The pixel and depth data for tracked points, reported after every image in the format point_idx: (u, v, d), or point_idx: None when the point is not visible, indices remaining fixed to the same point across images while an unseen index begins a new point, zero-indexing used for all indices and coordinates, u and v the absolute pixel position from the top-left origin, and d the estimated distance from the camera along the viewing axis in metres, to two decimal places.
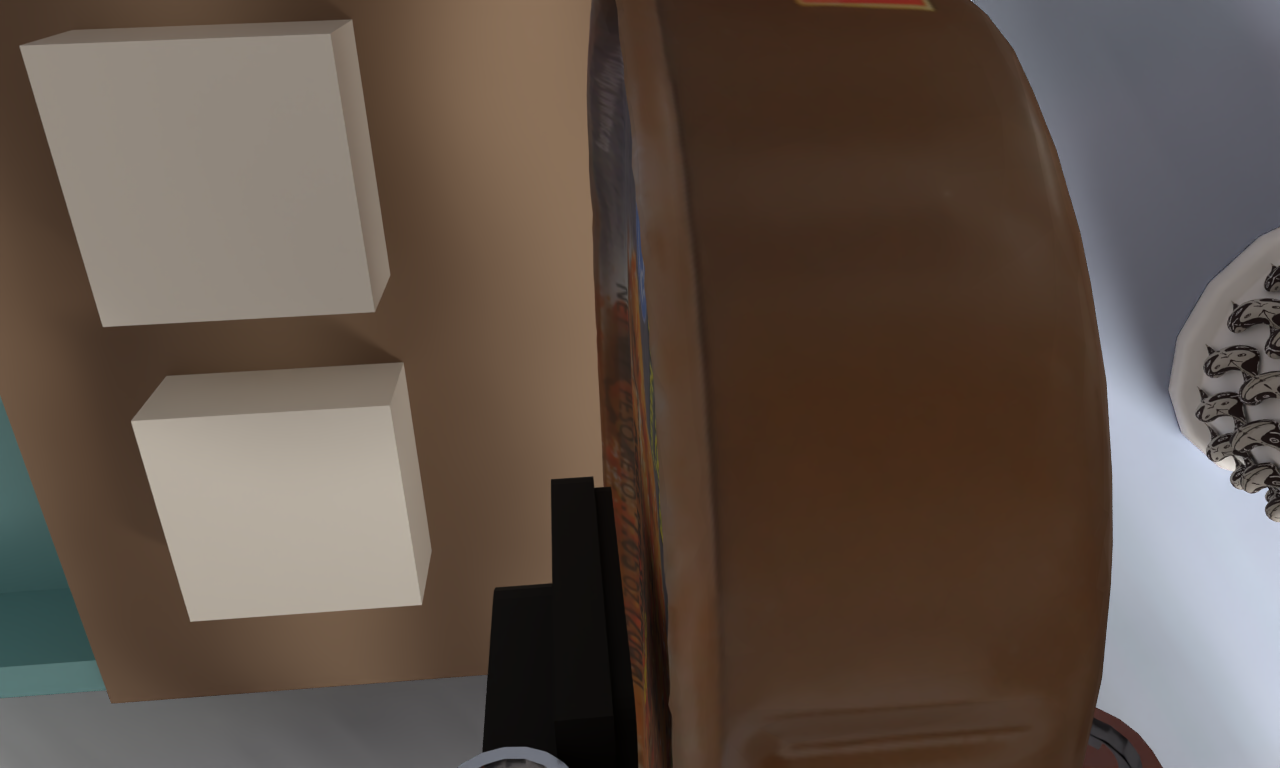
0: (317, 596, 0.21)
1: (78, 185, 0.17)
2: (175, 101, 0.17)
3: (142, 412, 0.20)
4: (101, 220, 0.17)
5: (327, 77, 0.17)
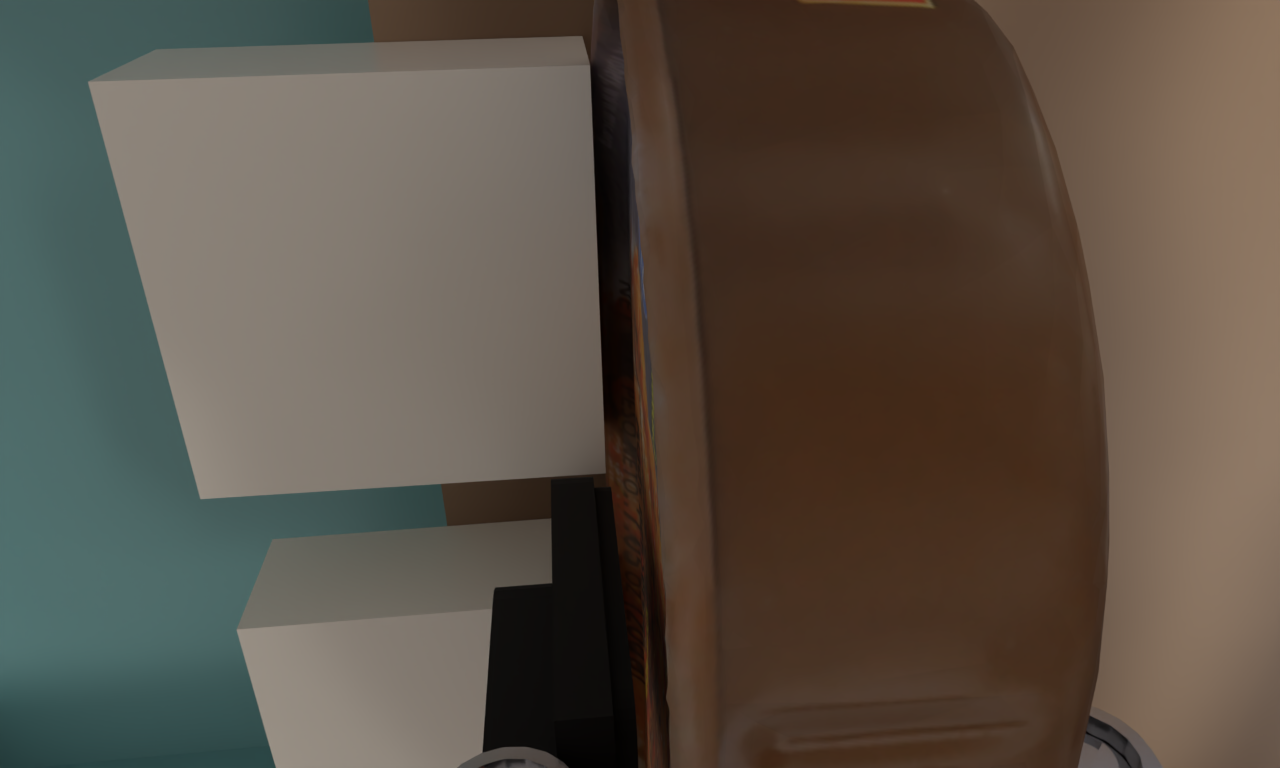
0: None
1: (172, 296, 0.11)
2: (334, 170, 0.10)
3: (251, 611, 0.13)
4: (206, 348, 0.11)
5: (577, 133, 0.10)
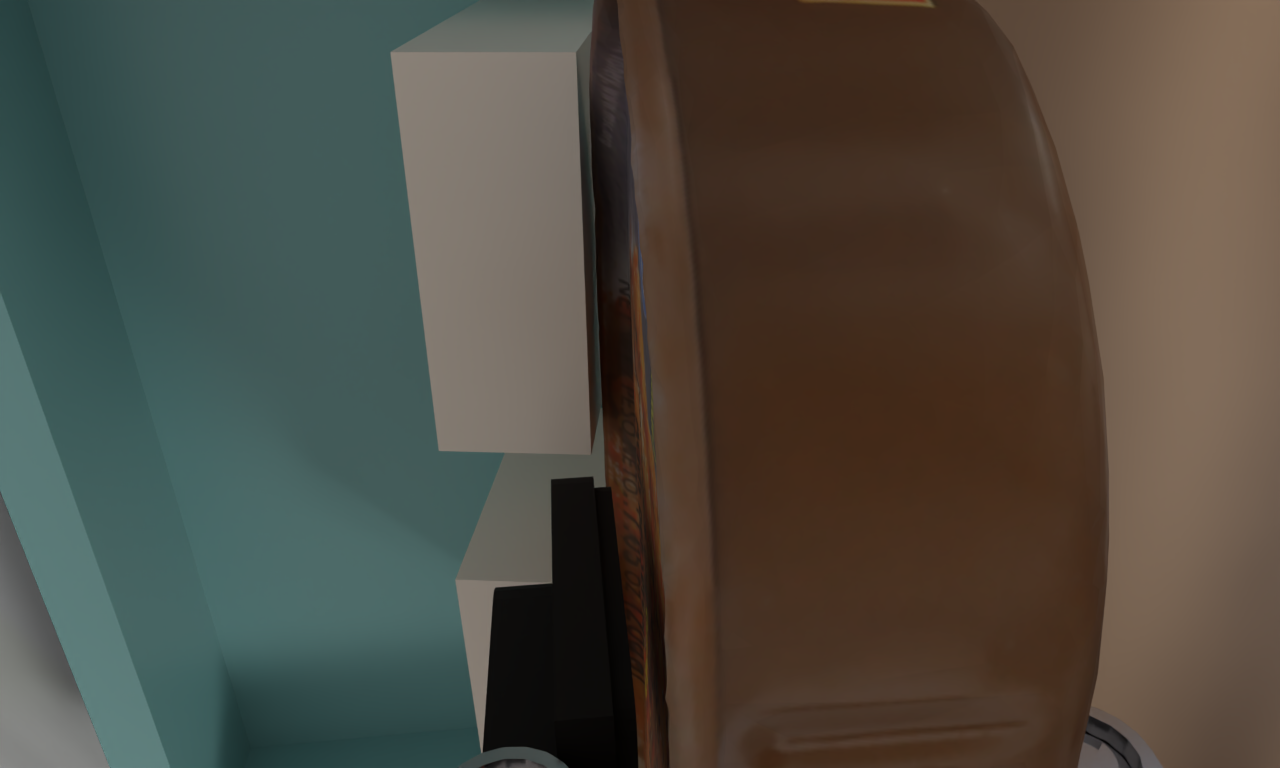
0: None
1: None
2: None
3: None
4: None
5: None
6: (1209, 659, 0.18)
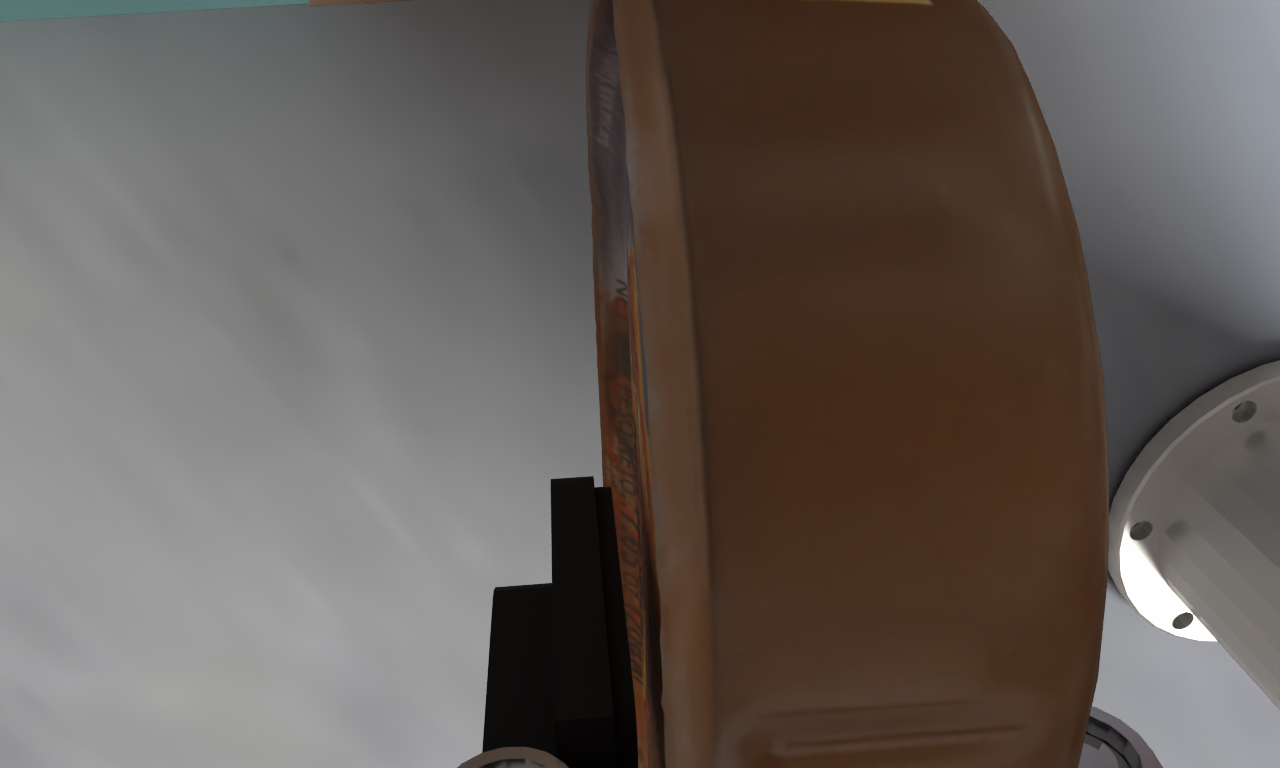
0: None
1: None
2: None
3: None
4: None
5: None
6: None
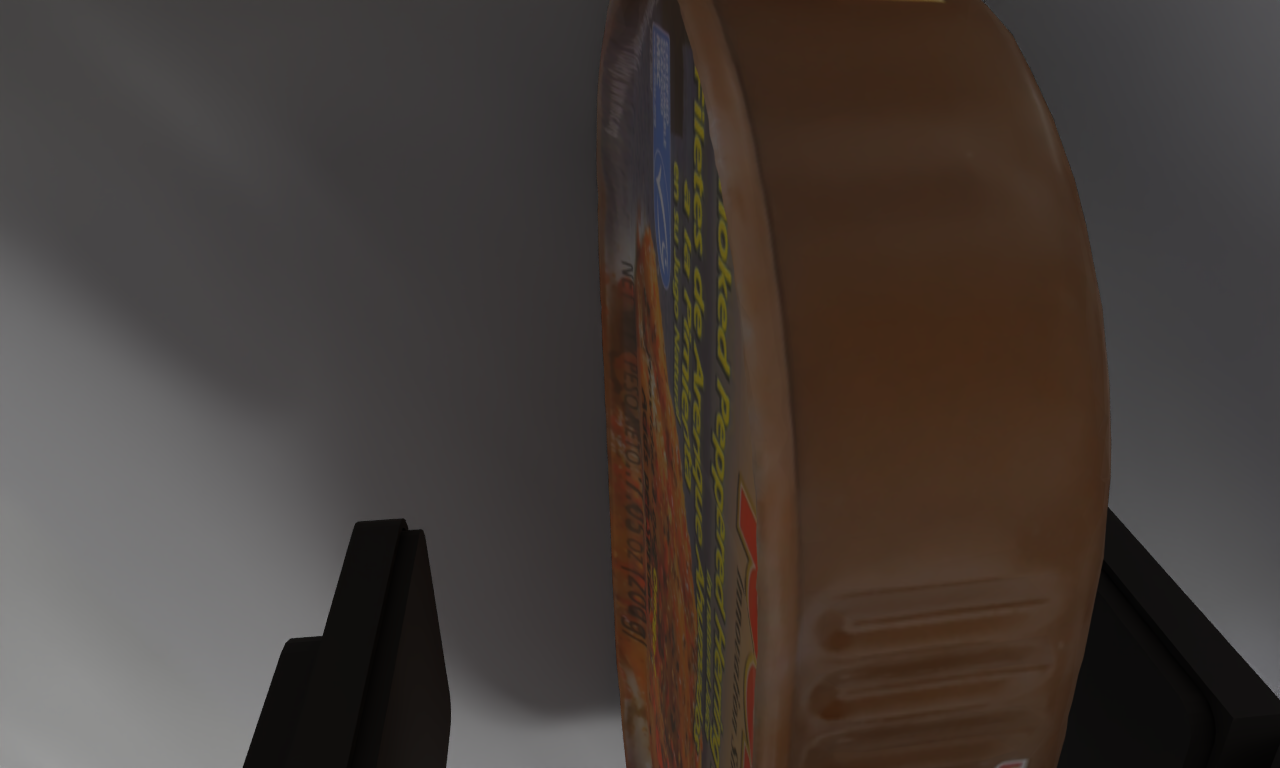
0: None
1: None
2: None
3: None
4: None
5: None
6: None
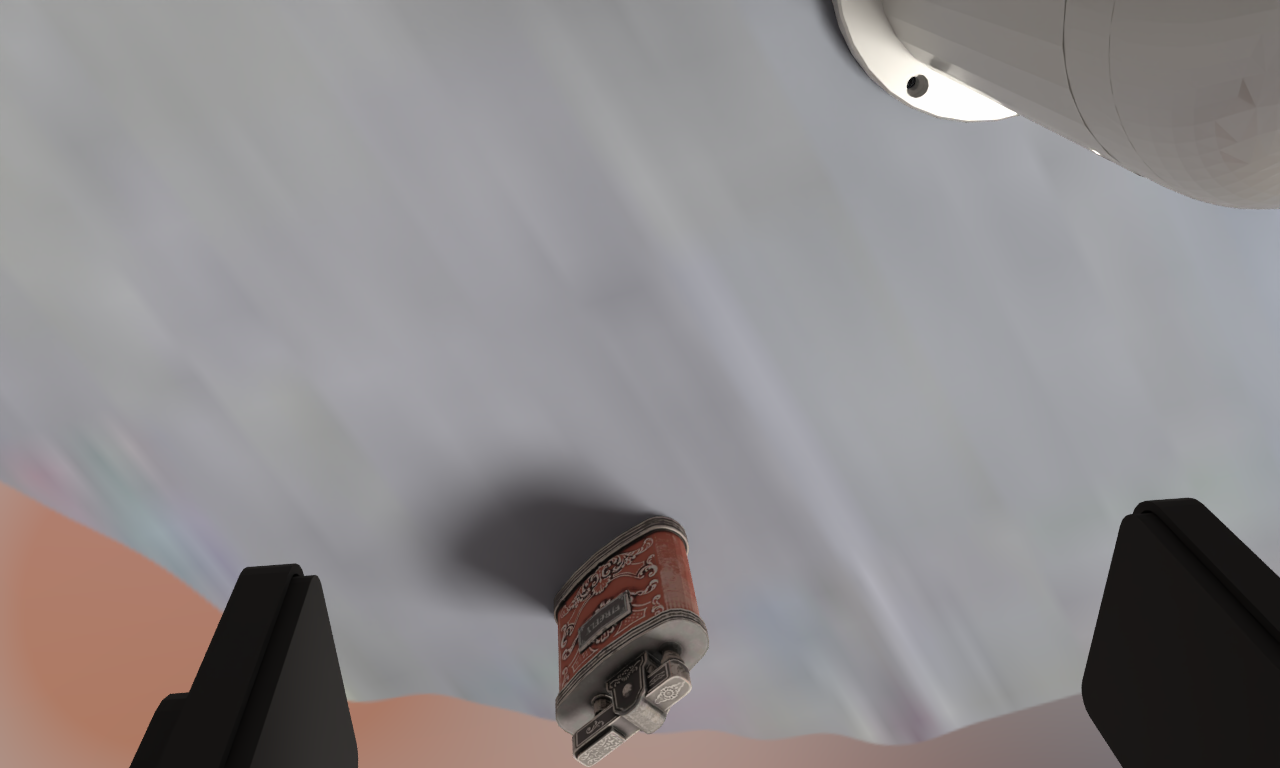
0: None
1: None
2: None
3: None
4: None
5: None
6: None
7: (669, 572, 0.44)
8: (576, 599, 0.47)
